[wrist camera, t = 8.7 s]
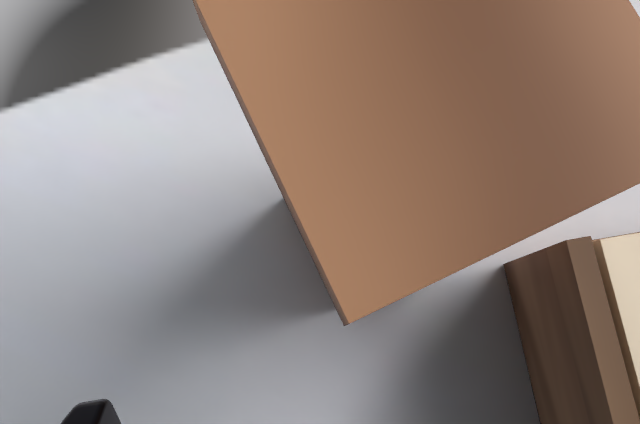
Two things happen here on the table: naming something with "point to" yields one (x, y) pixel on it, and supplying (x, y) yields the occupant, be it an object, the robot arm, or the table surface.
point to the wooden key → (431, 125)
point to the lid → (624, 298)
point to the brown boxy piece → (570, 336)
